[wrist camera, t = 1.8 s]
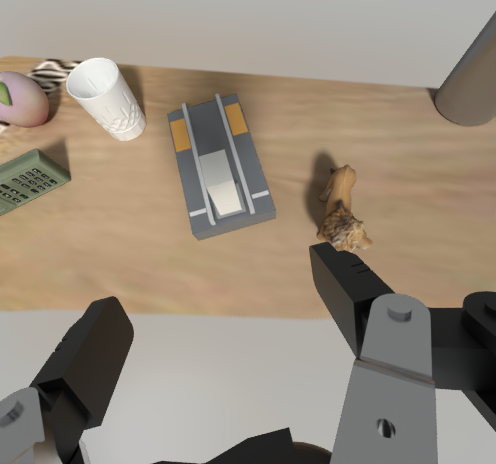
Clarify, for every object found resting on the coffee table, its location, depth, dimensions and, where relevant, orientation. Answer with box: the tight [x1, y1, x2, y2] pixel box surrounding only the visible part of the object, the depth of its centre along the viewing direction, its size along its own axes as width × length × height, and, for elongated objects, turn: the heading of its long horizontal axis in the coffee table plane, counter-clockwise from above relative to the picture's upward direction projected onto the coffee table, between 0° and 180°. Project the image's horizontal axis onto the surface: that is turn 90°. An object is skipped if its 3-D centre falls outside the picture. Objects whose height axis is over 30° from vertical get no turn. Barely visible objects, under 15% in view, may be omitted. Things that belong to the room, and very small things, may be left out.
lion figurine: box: [317, 165, 373, 252], centre depth 34 cm, size 15×5×9 cm, turn 178°
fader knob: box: [199, 149, 246, 219], centre depth 32 cm, size 4×4×9 cm
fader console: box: [167, 93, 276, 240], centre depth 40 cm, size 12×22×4 cm, turn 15°
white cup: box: [66, 58, 146, 141], centre depth 42 cm, size 8×8×10 cm
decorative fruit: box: [0, 71, 49, 128], centre depth 44 cm, size 9×8×10 cm
